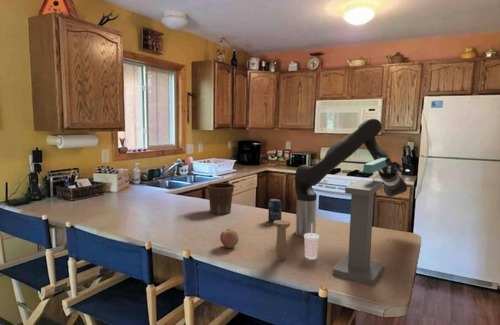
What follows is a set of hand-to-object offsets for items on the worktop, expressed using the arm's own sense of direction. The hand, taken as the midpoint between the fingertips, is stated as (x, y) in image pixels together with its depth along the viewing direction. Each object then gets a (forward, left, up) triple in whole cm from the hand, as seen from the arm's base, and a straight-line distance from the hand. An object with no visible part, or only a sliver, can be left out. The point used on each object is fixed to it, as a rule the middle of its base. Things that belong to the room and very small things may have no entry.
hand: (382, 159), depth 135 cm
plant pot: (-76, +50, -39) cm, 99 cm away
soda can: (-44, +35, -39) cm, 68 cm away
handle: (-41, -13, -39) cm, 58 cm away
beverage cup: (-29, -10, -39) cm, 50 cm away
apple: (-63, -3, -39) cm, 74 cm away
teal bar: (-4, -7, -3) cm, 8 cm away
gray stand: (-12, -20, -39) cm, 45 cm away
